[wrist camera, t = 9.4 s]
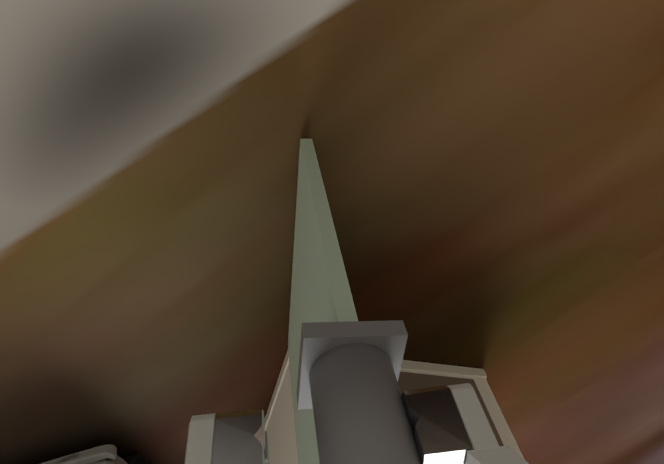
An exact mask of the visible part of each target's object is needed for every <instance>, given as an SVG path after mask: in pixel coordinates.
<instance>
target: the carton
mask: <svg viewBox="0 0 664 464" xmlns="http://www.w3.org/2000/svg"><path fill="white" fill-rule="evenodd" d="M486 377H487V375H486V373H485V371H484V369H479V368H471V367H462V366H453V365H444V364H435V363H427V362H418V361H409V360H402V364H401V369H400V373H399V378H398V385H399V389H400V392H401V395H402V392H403V391H407V390H414V389H421V388H429V387H436V386H444V385H445V386H448V385H456V384H464V383H470V384H471V385H472V386H473V388H474V390H475V392H476V395H477V397H478V399H479V401H480V404H481V406H482V408H483V410H484V413H485V415H486V417H487V419H488V421H489V424H490V426H491V428H492V430H493V433H494V435H495V437H496V439H497V441H498V444H499V446H507V447H509V448H510V449H511V450H512V451H514V452H515V453H516V454H518V455H519V456H520V457H521V458H523V456H522V453H521V451H520V449H519V447H518V445H517V443H516V441H515V439H514V437H513V435H512V433H511V431H510V429H509V427H508V424H507V422H506V420H505V418H504V416H503V414H502V412H501V410H500V408H499V406H498V404H497V402H496V400H495V397H494V395H493V393H492V391H491V389H490V387H489V385H488V383H487V381H486ZM265 431H266V432H267V438H268V448H269V463H270V464H298V454H297V442H296V431H295V419H294V408H293V396H292V385H291V374H290V362H289V351H288V350H287V353H286V356H285V359H284V362H283V365H282V368H281V371H280V374H279V377H278V380H277V383H276V386H275V389H274V392H273V395H272V398H271V401H270V404H269V407H268V410H267V413H266V416H265ZM523 459H524V458H523Z"/></svg>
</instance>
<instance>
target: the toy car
mask: <svg viewBox="0 0 664 464" xmlns="http://www.w3.org/2000/svg"><path fill="white" fill-rule="evenodd" d="M40 464H150V463H149V461H148V460H147V459H145V458H144V457H142V456H140V455H138V454H136V455H131V456H129V457H126V458H125V459H122V458H120V457H119V456H118V455H117V448H116V447H115V446H114V445H110V444H107V445H102V446H97V447H94V448H91V449H87V450H84V451H80V452H77V453H74V454H70V455H67V456H64V457H60V458H57V459H53V460H50V461H47V462H43V463H40Z"/></svg>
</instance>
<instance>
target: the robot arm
mask: <svg viewBox="0 0 664 464" xmlns="http://www.w3.org/2000/svg"><path fill="white" fill-rule="evenodd" d="M401 397H402V400H403V403H404V407H405V410H406V414H407V417H408V420H409V423H410V425H411V428H412V432H413V435H414V441H415V444H416V447H417V451H418V454H419V457H420V461H421V464H529V463H528V462H527V461H525V460H524V459H523V458H521V457H520V456H519V455H518V454H516V453H515V452H514V451H512V450H511V449H510V448H509V447H507V446H499V444H498V441H497V439H496V437H495V435H494V433H493V430H492V428H491V426H490V424H489V421H488V419H487V417H486V415H485V413H484V410H483V408H482V406H481V404H480V401H479V399H478V397H477V395H476V392H475V390H474V388H473V386H472V385H471V384H470V383H464V384H456V385H448V386H445V385H444V386H436V387H429V388H421V389H414V390H407V391H403V392H402V396H401ZM185 464H270V463H269V448H268V438H267V432H266V431H265V418H264V412H263V409H254V410H243V411H233V412H222V413H212V414H203V415H194V416H192V418H191V420H190V423H189V431H188V440H187V448H186V456H185Z"/></svg>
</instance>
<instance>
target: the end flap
mask: <svg viewBox="0 0 664 464" xmlns="http://www.w3.org/2000/svg"><path fill="white" fill-rule="evenodd" d="M407 338H408V333H407V331H406V328H405V325H404V322H403V320H393V321H358V318H357V314H356V310H355V306H354V302H353V298H352V294H351V290H350V286H349V282H348V278H347V274H346V271H345V267H344V263H343V259H342V255H341V251H340V247H339V243H338V239H337V235H336V231H335V227H334V223H333V219H332V215H331V211H330V207H329V204H328V200H327V196H326V192H325V188H324V184H323V180H322V176H321V172H320V168H319V164H318V160H317V156H316V152H315V148H314V144H313V140H312V139H300V151H299V168H298V184H297V201H296V217H295V234H294V250H293V267H292V283H291V300H290V316H289V333H288V351H289V362H290V374H291V385H292V396H293V408H294V419H295V431H296V442H297V454H298V464H421V461H420V457H419V454H418V451H417V447H416V444H415V441H414V435H413V432H412V428H411V425H410V423H409V420H408V417H407V414H406V410H405V407H404V403H403V400H402V397H401V396H402V395H401V392H400V389H399V385H398V378H399V373H400V369H401V364H402V360H403V356H404V351H405V347H406V342H407Z"/></svg>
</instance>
